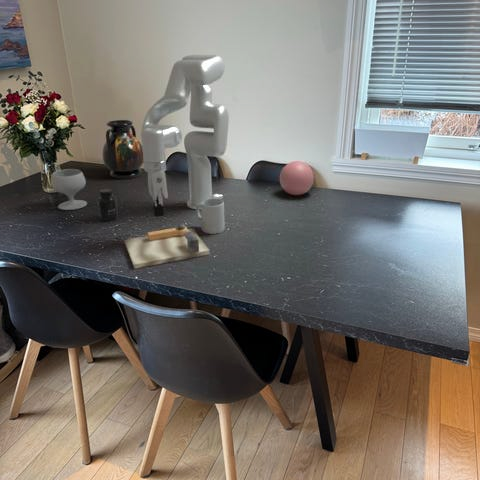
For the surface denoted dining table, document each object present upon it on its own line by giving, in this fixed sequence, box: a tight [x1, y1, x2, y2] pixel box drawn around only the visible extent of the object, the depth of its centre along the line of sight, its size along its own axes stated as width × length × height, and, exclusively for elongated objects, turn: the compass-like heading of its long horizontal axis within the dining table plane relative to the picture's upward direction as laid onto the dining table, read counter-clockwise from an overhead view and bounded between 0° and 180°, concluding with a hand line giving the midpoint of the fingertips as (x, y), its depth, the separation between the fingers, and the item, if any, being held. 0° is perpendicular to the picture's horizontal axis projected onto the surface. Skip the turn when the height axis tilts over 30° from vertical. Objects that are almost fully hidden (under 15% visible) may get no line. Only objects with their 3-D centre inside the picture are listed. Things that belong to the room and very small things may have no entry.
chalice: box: [50, 168, 88, 211], centre depth 184 cm, size 14×14×15 cm
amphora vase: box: [102, 119, 144, 180], centre depth 223 cm, size 22×22×28 cm
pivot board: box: [123, 223, 211, 269], centre depth 146 cm, size 25×20×6 cm
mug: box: [195, 199, 226, 235], centre depth 160 cm, size 12×8×11 cm
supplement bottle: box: [97, 188, 119, 222], centre depth 170 cm, size 7×7×12 cm
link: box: [147, 226, 188, 240], centre depth 152 cm, size 14×4×2 cm, turn 112°
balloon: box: [279, 160, 315, 196], centre depth 196 cm, size 15×20×15 cm
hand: (159, 215), depth 154 cm, fingers closed
